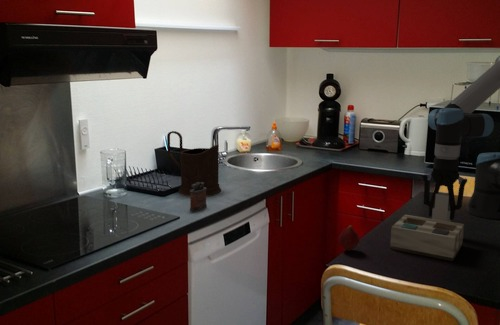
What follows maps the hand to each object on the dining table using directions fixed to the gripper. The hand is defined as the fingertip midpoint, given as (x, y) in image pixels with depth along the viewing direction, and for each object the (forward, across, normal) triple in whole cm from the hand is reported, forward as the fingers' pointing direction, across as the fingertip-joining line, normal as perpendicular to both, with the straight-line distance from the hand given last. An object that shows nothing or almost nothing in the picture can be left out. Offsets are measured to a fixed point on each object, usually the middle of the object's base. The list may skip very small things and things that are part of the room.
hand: (440, 227), depth 172 cm
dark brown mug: (+3, -102, +2) cm, 102 cm away
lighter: (+3, -84, -19) cm, 86 cm away
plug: (+3, 0, 0) cm, 3 cm away
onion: (+3, -20, -30) cm, 36 cm away
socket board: (+3, -1, -14) cm, 14 cm away
